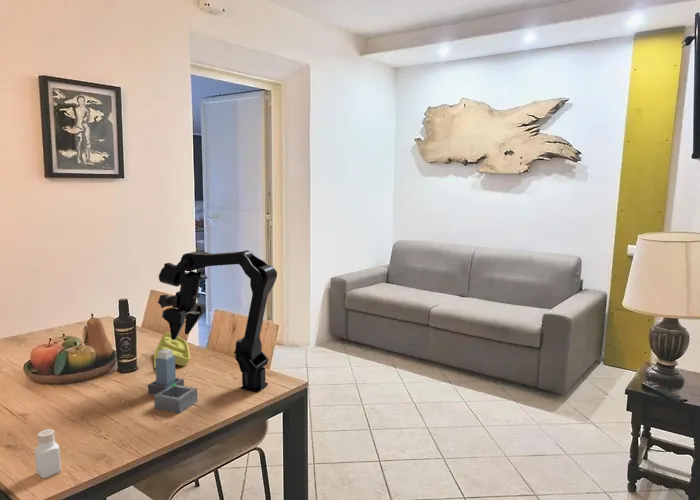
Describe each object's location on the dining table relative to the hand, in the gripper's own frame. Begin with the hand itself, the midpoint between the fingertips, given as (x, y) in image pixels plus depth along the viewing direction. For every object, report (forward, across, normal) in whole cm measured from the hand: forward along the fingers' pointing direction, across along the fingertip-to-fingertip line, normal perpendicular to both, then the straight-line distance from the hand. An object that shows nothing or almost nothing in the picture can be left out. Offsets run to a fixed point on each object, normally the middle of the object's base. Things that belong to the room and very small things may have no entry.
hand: (180, 336), depth 162 cm
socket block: (+15, +16, +10) cm, 24 cm away
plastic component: (+15, -19, -9) cm, 25 cm away
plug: (+15, +8, +2) cm, 17 cm away
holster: (+15, +8, +2) cm, 17 cm away
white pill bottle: (+21, +53, -1) cm, 57 cm away
